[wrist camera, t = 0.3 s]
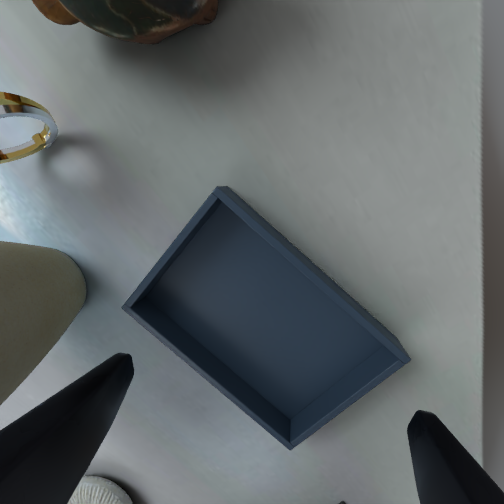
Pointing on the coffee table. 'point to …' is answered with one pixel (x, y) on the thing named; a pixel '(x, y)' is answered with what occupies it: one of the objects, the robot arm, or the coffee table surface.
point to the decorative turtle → (131, 16)
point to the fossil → (98, 492)
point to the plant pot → (34, 307)
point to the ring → (24, 107)
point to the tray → (263, 321)
